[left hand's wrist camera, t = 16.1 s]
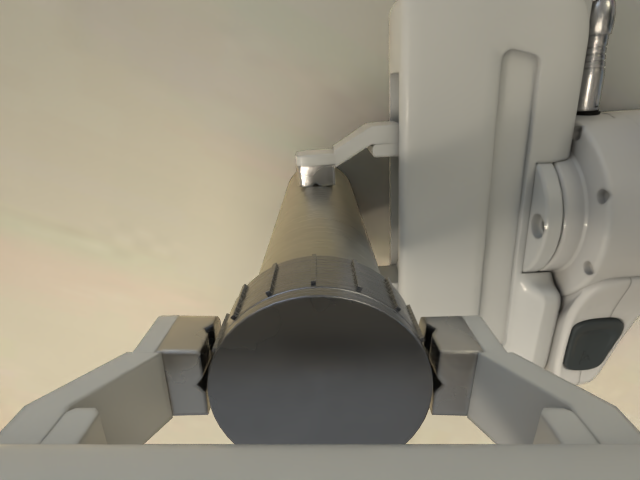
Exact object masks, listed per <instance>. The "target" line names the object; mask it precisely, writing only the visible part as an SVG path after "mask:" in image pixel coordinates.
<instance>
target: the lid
mask: <svg viewBox="0 0 640 480" xmlns="http://www.w3.org/2000/svg"><path fill="white" fill-rule="evenodd" d="M424 341H425V339H424V337H423V334H422V332H421V330H420V327H419V325H418V323H417V320H416V318H415V316H414V313H413V311H412V309H411V306H410V304H409V305H407V306H406V303H405V301H404V300H403V298H402V296H401V295H400V293H399V292H398V291H397V289H396V288H395V287H394V286H393V285H392V283H391V280H390V279H389V278H388V277H386V278H384V277H383V276H382V275H381V274H379V273H378V272H376V271H374V270H373V269H371V268H369V267H367V266H365V265H363V264H361V263H358V262H357V260H356V259H352V260H349V259H345V258H340V257H335V256H321V255H320V256H316V254H312V256H306V257H300V258H295V259H291V260H288V261H285V262H282V263H280V264H277V263H274V264H273V265H272V267H271V268H269V269H267V270H266V271H264V272H263V273H261V274H259V275H258V276H257V277H256V278H255V279H253V280H252V281H251V282H250V283H249V284H248V285H246V284H244V285H243V287H242V289H241V292H240V294H239V297H238V298H237V299H236V302H235V304H234V306H233V308H232V310H231V312H230V314H226V316H225V319H224V321H223V324H222V326H221V329H220V331H219V333H218V336H217V338H216V341H215V343H214V345H213V348H212V352H214V355H213V357H212V361H211V364H210V367H209V372H208V379H207V389H208V397H209V402H210V407H211V409H212V412H213V415H214V417H215V419H216V421H217V422H218V424H219V426H220V428H221V429H222V430H223V432H224V433H225V434H226V436H227V437H228V438H229V439H230V440H231V441H232V442H233V443H234V444H406V443H407V442H408V441H409V440H410V439H411V438H412V437H413V436H414V434H415V433H416V432H417V430H418V429H419V428H420V426H421V424H422V423H423V421H424V419H425V417H426V415H427V412H428V410H429V407H430V403H431V399H432V393H433V377H432V369H431V366H430V362H429V359H428V356H427V354H426V351H425V349H424V347H423V344H422V342H424Z"/></svg>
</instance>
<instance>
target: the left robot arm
mask: <svg viewBox="0 0 640 480" xmlns="http://www.w3.org/2000/svg"><path fill="white" fill-rule="evenodd" d="M419 327H420V330H421V332H422V334H423V337H424V339H425V341H424V342H422V344H423V347H424V349H425V351H426V354H427V356H428V359H429V362H430V366H431V369H432V377H433V393H432V399H431V403H430V407H429V408H430V411H431V413H432V415H462V416H467V418H469V419H470V420H471V421H472V422H473V423H474V424H475V425H476V426H477V427H478V428H479V429H480V430H482V431H483V432H484V433H485V434H486V435H487V436H488V437H489V438H490V439H491V440H492V441H493V442H495V443H496V444H144V443H146V442H147V441H148V440H149V439H150V438H151V437H152V436H153V435H154V434H155V433H156V432H157V431H159V430H160V429H161V428H162V427H163V426H164V425H165V424H166V423H167V422H168V421H169V420H171V419H172V418H173V416H178V415H208V413H209V411H210V408H211V407H210V402H209V397H208V389H207V379H208V372H209V367H210V364H211V361H212V357H213V355H214V352H212V348H213V345H214V343H215V341H216V338H217V336H218V333H219V331H220V329H221V322H220V319H219V317H218V316H179V315H170V316H159V317H158V318H157V319H156V321H155V322H154V324H153V325H152V326H151V328H150V329H149V330H148V332H147V333H146V335H145V336H144V337H143V339H142V340H141V342H140V343H139V344H138V346H137V347H136V348H135V350H134V351H133V352H126V353H125V354H123V355H121V356H119V357H117V358H115V359H113V360H111V361H109V362H107V363H106V364H104V365H102V366H100V367H98V368H96V369H94V370H92V371H90V372H88V373H86V374H85V375H83V376H81V377H79V378H77V379H75V380H73V381H71V382H69V383H67V384H66V385H64V386H62V387H60V388H58V389H56V390H54V391H52V392H50V393H48V394H47V395H45V396H43V397H41V398H39V399H37V400H35V401H33V402H31V403H29V404H28V405H26V406H24V407H23V408H22V409H21V410H20V411H19V413H18V414H17V415H16V416H15V417H14V418H13V419H12V420H11V421H10V422H9V423H8V424H7V425H6V426H5V427H4V428H3V429H2V431H1V432H0V480H640V432H639V430H638V429H637V428H636V427H635V426H634V425H633V424H632V423H631V422H630V421H629V420H628V419H627V418H626V417H625V416H624V414H623V413H622V412H621V411H620V410H619V409H618V408H617V407H616V406H614V405H612V404H610V403H608V402H606V401H605V400H603V399H601V398H599V397H597V396H595V395H593V394H591V393H589V392H587V391H586V390H584V389H582V388H580V387H578V386H576V385H574V384H572V383H570V382H568V381H567V380H565V379H563V378H561V377H559V376H557V375H555V374H553V373H551V372H550V371H548V370H546V369H544V368H542V367H540V366H538V365H536V364H534V363H532V362H531V361H529V360H527V359H525V358H523V357H521V356H519V355H517V354H515V353H514V352H507V351H506V350H505V349H504V347H503V346H502V344H501V343H500V342H499V340H498V339H497V338H496V336H495V335H494V333H493V332H492V331H491V329H490V328H489V327H488V325H487V324H486V322H485V321H484V320H483V318H482V317H481V316H478V315H470V316H439V317H421V318H420V322H419Z"/></svg>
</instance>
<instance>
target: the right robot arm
mask: <svg viewBox="0 0 640 480" xmlns="http://www.w3.org/2000/svg"><path fill="white" fill-rule="evenodd" d="M615 14H616V4H615V0H596V1H593V0H397V1H396V2H395V4H394V5H393V6H392V8H391V10H390V14H389V121H382V122H369V123H365V124H364V125H362V126H361V127H359V128H358V129H356V130H355V131H353V132H352V133H350V134H349V135H348V136H346V137H345V138H343V139H342V140H340V141H339V142H337V143H336V144H334V145H333V148H328V149H314V150H303V151H298V152H296V154H295V158H296V169H297V179H298V186H300V187H310V186H313V185H314V184H315V183H317V184H319V185H323V186H327V185H335V168H336V167H338V166H339V165H341V164H342V163H344V162H345V161H347V160H348V159H350V158H352V157H353V156H355V155H356V154H358V153H359V152H361V151H362V150H364V149H366V148H367V149H368V150H369V151H370V153H371V154H372V155H373V156H374V157H375V158H376V157H389V192H390V266H378V268H379V271H380V274H381V275H382V276H383V277H384V278H386V277H388V278H389V279H390V280H391V283H392V285H393V286H394V287H395V288H396V289H397V291H398V292H399V293H400V295H401V296H402V298H403V300H404V301H405V303H406V306H407V305H409V304H410V306H411V309H412V311H413V313H414V316H415V318H416V320H417V323H418V325H419V322H420V318H421V317H439V316H470V315H478V316H481V317H482V318H483V320H484V321H485V322H486V324H487V325H488V327H489V328H490V329H491V331H492V332H493V333H494V335H495V336H496V338H497V339H498V340H499V342H500V343H501V344H502V346H503V347H504V349H505V350H506V351H507V352H514V353H515V354H517V355H519V356H521V357H523V358H525V359H527V360H529V361H531V362H532V363H534V364H536V365H538V366H540V367H542V368H544V369H546V370H548V371H550V372H551V373H553V374H555V375H557V376H559V377H561V378H563V379H565V380H567V381H568V382H570V383H572V384H574V385H582V384H586V383H588V382H590V381H592V380H593V379H594V378H595V377H596V376H597V375H598V374H599V372H600V371H601V369H602V368H603V366H604V365H605V363H606V361H607V360H608V358H609V357H610V355H611V354H612V352H613V351H614V349H615V348H616V346H617V345H618V343H619V342H620V340H621V339H622V337H623V336H624V335H625V333H626V332H627V331H628V329H629V328H630V327H631V325H632V324H633V323H634V322H635V321H636V319H637V318H638V317H639V316H640V109H637V110H622V111H608V112H599V105H600V99H601V94H602V88H603V83H604V76H605V68H604V67H605V64H606V61H605V59H606V54H605V53H606V51H607V47H606V46H607V45H608V39H609V35H610V34H611V33H612V30H613V26H614V21H615Z"/></svg>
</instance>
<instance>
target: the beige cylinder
mask: <svg viewBox="0 0 640 480" xmlns="http://www.w3.org/2000/svg"><path fill="white" fill-rule="evenodd" d="M312 254H316V256H320V255H321V256H335V257H340V258H345V259H349V260H352V259H356V260H357V262H358V263H361V264H363V265H365V266H367V267H369V268H371V269H373V270H374V271H376V272H378V273H379V274H380V271H379V268H378V265H377V262H376V259H375V256H374V253H373V250H372V247H371V244H370V241H369V238H368V235H367V232H366V229H365V226H364V223H363V221H362V218H361V215H360V212H359V209H358V206H357V203H356V200H355V197H354V194H353V191H352V188H351V185H350V182H349V180H348V179H347V177H346V176H345V174H344V173H343V172H342V171H340V170H339V169H338V168H335V185H327V186H323V185H319V184H317V183H315V184H314V185H313V186H310V187H300V186H298V179H297V172H296V173H295V174H294V175H293V177H292V178H291V180H290V182H289V184H288V187H287V190H286V193H285V196H284V199H283V202H282V205H281V208H280V212H279V215H278V218H277V221H276V224H275V227H274V230H273V233H272V236H271V239H270V242H269V245H268V248H267V251H266V254H265V257H264V260H263V264H262V267H261V270H260V273H259V274H261V273H263V272H264V271H266V270H267V269H269V268H271V267H272V265H273V264H274V263H277V264H280V263H282V262H285V261H288V260H291V259H295V258H300V257H306V256H312Z"/></svg>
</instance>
